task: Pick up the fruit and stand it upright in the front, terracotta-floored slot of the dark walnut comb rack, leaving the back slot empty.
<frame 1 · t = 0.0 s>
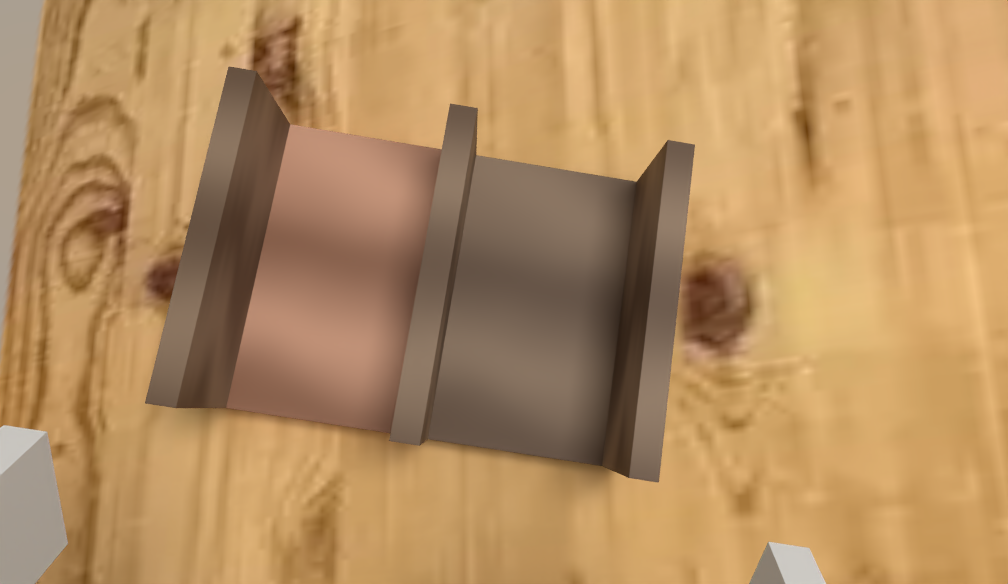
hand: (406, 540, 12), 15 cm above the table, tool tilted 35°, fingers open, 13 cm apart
rack: (442, 295, 28), on the table
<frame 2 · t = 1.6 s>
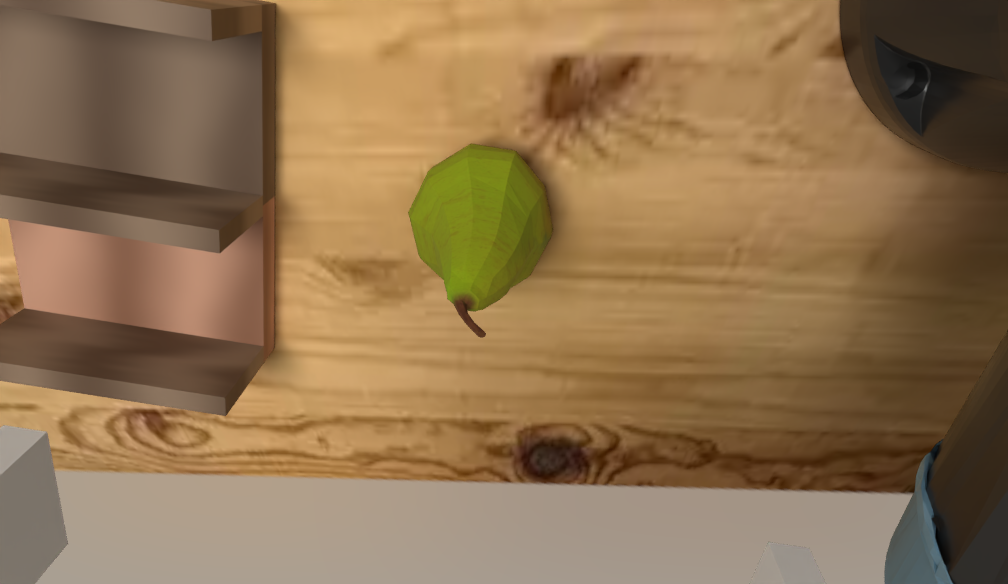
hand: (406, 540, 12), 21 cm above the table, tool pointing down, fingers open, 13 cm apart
fruit: (487, 198, 31), on the table
rack: (148, 175, 31), on the table
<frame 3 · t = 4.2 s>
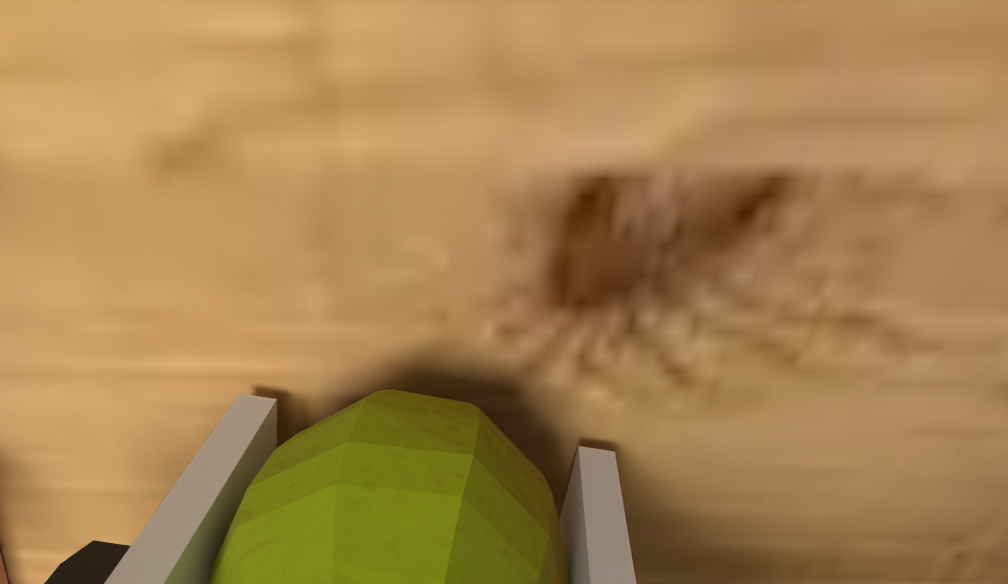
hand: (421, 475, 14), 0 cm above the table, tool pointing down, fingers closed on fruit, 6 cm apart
fruit: (426, 454, 14), on the table, touching gripper
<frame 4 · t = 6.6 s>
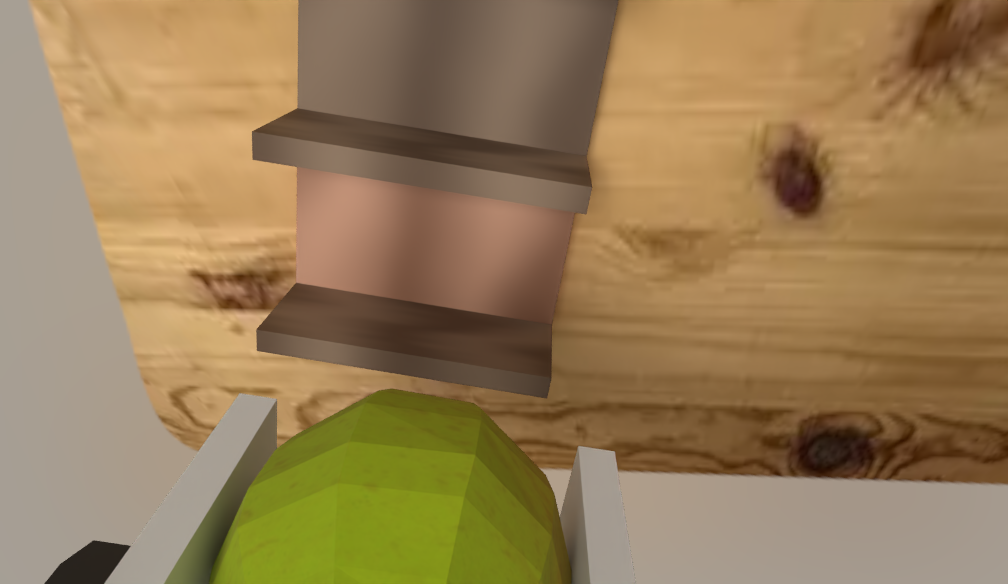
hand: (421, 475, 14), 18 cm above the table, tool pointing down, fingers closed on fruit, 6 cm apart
fruit: (427, 454, 14), point 17 cm above the table, touching gripper
rack: (446, 136, 28), on the table
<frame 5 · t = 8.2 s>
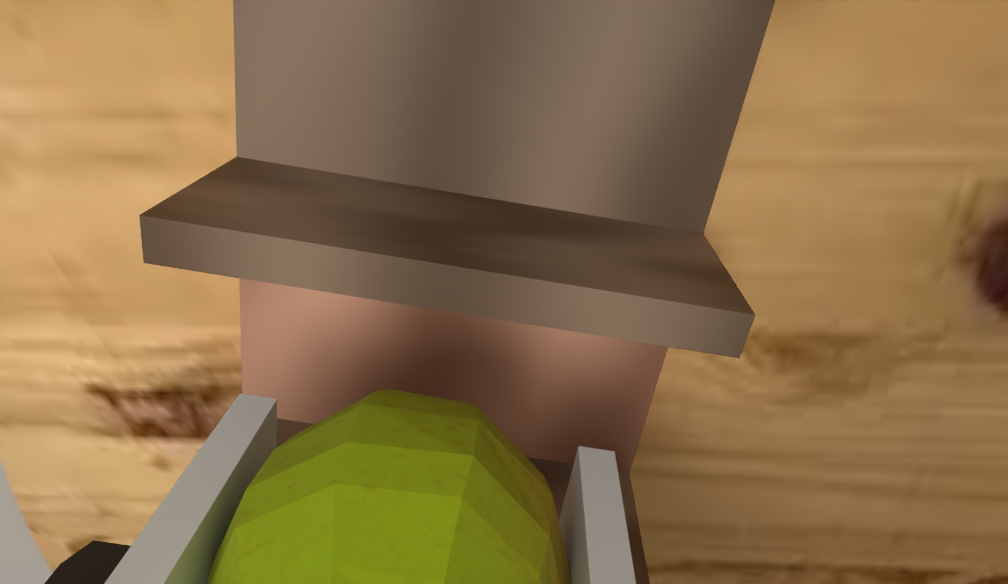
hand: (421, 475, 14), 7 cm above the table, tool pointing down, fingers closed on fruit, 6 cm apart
fruit: (426, 454, 14), point 6 cm above the table, touching gripper
rack: (474, 196, 18), on the table
when the fingers open (3 cm above the table, at t = 9.2 s): fruit drops 2 cm, resting on rack.
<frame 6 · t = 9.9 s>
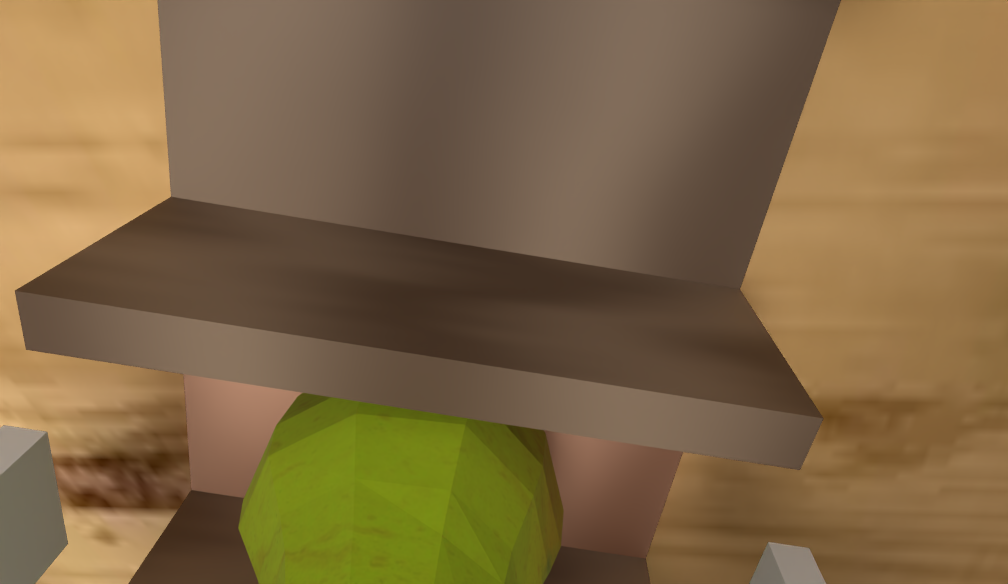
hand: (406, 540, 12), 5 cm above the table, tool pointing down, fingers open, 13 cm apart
fruit: (432, 410, 16), point 1 cm above the table, touching rack
rack: (463, 239, 15), on the table
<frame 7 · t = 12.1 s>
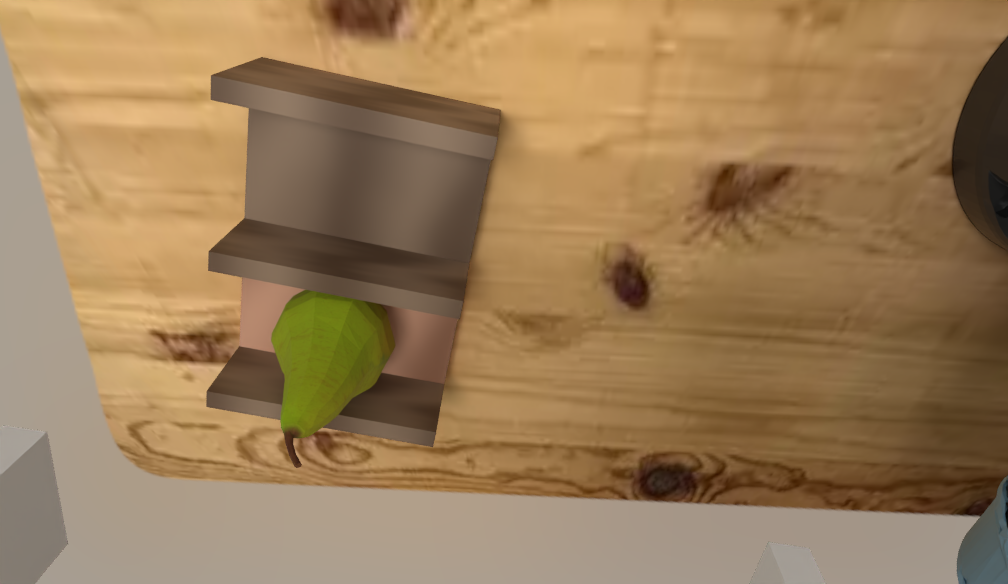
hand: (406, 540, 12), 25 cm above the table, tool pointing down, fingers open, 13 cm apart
fruit: (348, 311, 37), point 1 cm above the table, touching rack
rack: (363, 239, 36), on the table
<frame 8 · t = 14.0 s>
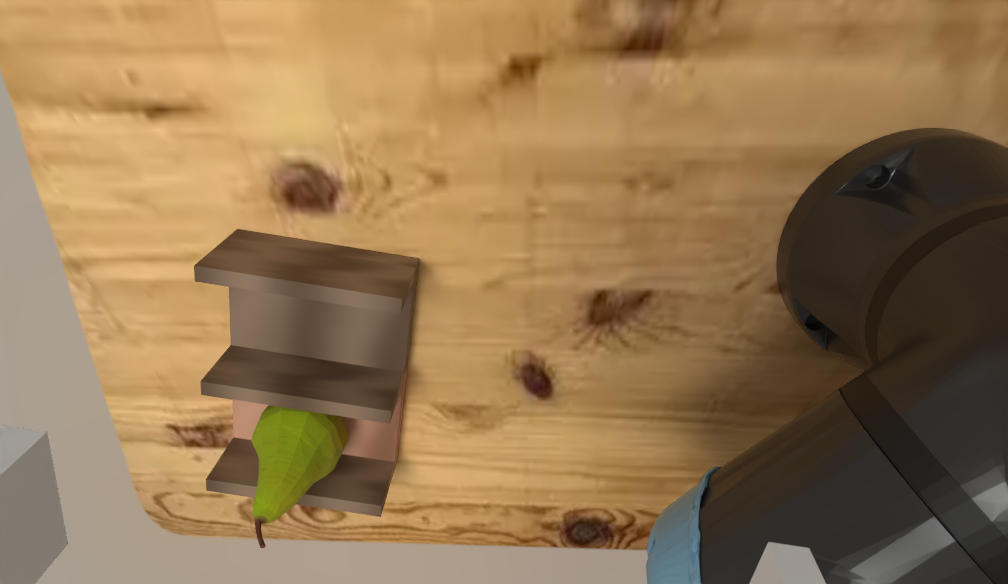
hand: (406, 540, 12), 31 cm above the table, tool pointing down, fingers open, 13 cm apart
fruit: (315, 409, 47), point 1 cm above the table, touching rack
rack: (323, 353, 47), on the table
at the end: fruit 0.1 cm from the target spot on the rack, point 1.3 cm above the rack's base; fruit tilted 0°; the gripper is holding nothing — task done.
